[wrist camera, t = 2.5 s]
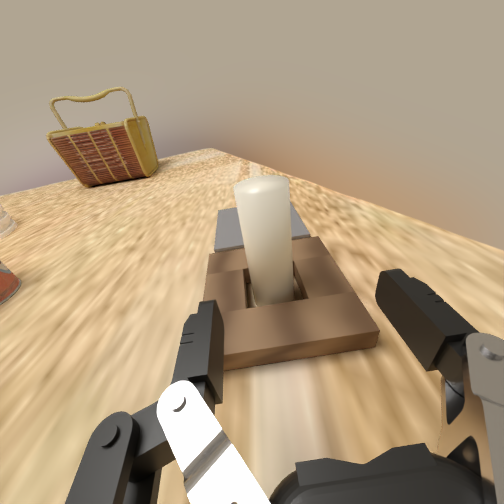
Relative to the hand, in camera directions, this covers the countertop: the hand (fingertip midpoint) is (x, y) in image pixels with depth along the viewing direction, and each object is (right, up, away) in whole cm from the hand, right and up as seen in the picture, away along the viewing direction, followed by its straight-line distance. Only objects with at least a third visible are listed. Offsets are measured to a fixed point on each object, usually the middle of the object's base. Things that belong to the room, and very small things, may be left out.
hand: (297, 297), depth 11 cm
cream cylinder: (0, -3, +16) cm, 16 cm away
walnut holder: (0, -3, +16) cm, 16 cm away
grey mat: (-1, +8, +33) cm, 34 cm away
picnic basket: (-56, +34, +84) cm, 107 cm away
